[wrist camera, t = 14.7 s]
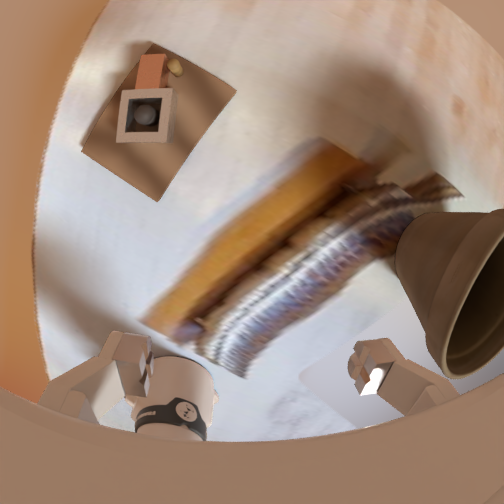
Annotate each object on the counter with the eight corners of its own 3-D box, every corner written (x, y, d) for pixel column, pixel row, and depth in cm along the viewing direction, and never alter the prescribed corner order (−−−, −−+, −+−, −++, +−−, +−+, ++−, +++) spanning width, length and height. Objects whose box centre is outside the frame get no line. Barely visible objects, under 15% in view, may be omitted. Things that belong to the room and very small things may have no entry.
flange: (172, 143, 32) (166, 142, 28) (127, 143, 31) (115, 142, 27) (183, 63, 28) (178, 53, 24) (137, 64, 27) (128, 56, 23)
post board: (159, 200, 36) (147, 209, 30) (86, 151, 32) (63, 152, 26) (236, 92, 31) (238, 80, 26) (156, 47, 27) (144, 30, 22)
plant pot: (348, 306, 45) (410, 395, 25) (389, 166, 37) (500, 191, 17) (437, 310, 49) (496, 368, 28) (474, 204, 41) (554, 237, 20)
